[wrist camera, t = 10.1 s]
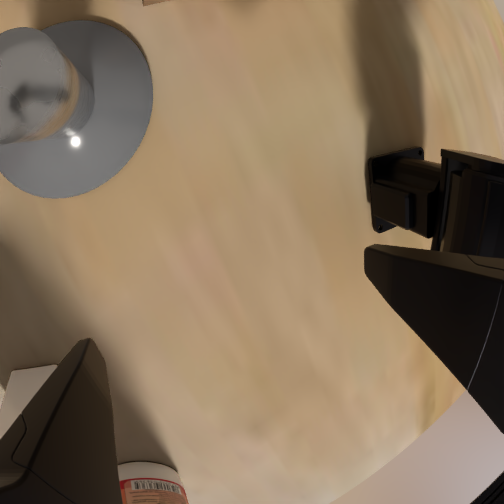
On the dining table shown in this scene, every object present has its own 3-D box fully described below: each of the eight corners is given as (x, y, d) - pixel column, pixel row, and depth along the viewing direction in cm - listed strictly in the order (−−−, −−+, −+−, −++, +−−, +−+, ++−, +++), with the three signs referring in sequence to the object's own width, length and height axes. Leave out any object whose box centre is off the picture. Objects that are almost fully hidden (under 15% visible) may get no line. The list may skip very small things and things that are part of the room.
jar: (9, 348, 18) (-27, 475, 8) (103, 375, 22) (110, 509, 12) (13, 417, 20) (-1, 524, 10) (91, 437, 24) (100, 546, 13)
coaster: (134, 1, 14) (134, -2, 13) (171, 161, 19) (172, 162, 18) (-23, 67, 11) (-27, 66, 11) (15, 221, 16) (12, 224, 16)
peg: (87, 62, 14) (52, 8, 6) (101, 124, 16) (71, 115, 8) (26, 88, 13) (-46, 62, 5) (40, 149, 15) (-29, 165, 7)
